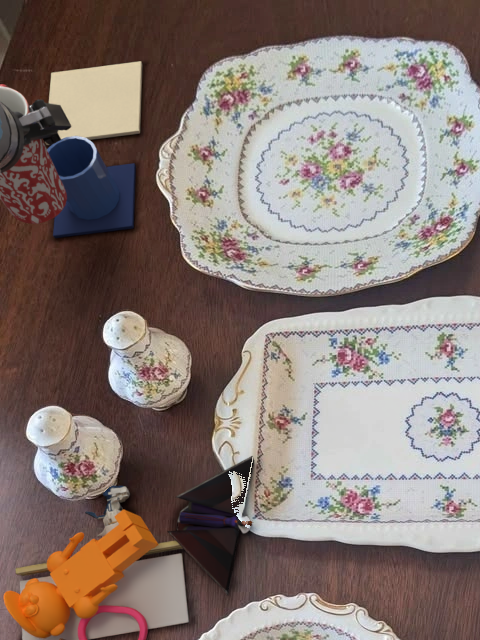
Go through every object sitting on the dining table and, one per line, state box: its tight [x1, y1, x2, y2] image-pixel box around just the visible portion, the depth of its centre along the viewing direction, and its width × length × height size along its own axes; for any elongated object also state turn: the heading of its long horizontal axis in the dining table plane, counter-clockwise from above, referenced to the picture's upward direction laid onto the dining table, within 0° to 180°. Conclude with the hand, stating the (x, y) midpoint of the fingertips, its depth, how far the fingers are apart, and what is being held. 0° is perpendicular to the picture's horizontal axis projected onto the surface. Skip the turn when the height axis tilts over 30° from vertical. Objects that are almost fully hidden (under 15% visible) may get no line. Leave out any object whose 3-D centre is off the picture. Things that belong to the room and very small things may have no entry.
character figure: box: [166, 455, 256, 596], centre depth 98 cm, size 18×3×10 cm
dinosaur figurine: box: [84, 484, 131, 537], centre depth 99 cm, size 5×4×10 cm
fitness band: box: [78, 605, 149, 640], centre depth 94 cm, size 8×6×2 cm
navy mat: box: [52, 162, 137, 239], centre depth 120 cm, size 12×12×1 cm
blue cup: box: [46, 136, 120, 220], centre depth 116 cm, size 8×8×9 cm
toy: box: [2, 509, 159, 638], centre depth 93 cm, size 9×18×8 cm, turn 126°
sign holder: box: [15, 539, 190, 640], centre depth 96 cm, size 21×2×10 cm
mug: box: [0, 83, 67, 225], centre depth 94 cm, size 13×9×14 cm
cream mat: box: [44, 60, 143, 146], centre depth 127 cm, size 15×15×1 cm
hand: (13, 147), depth 97 cm, fingers closed on mug, 8 cm apart
